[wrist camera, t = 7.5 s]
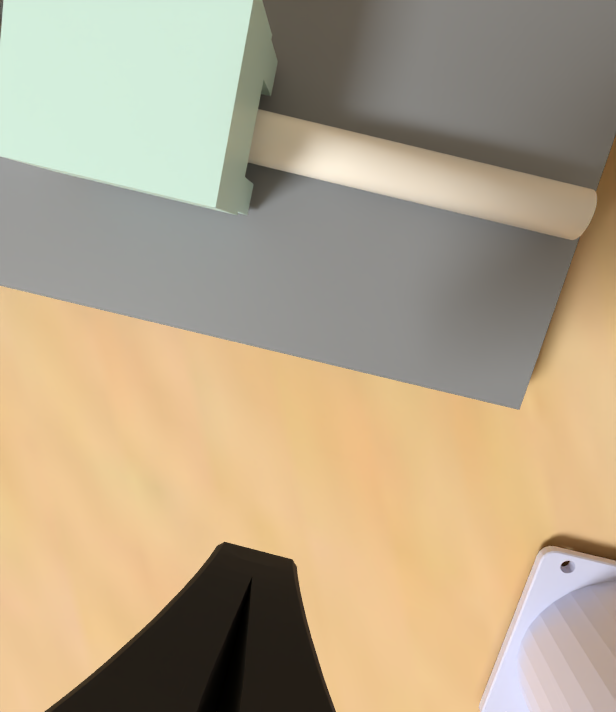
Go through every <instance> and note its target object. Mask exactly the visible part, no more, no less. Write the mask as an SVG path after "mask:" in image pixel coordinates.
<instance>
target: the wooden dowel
mask: <svg viewBox="0 0 616 712" xmlns="http://www.w3.org/2000/svg"><path fill="white" fill-rule="evenodd" d="M248 163H252V164H256V165H260V166H265V167H269V168H273V169H277V170H281V171H285V172H290V173H294V174H298V175H302V176H306V177H310V178H315V179H319V180H323V181H327V182H331V183H335V184H340V185H344V186H348V187H352V188H356V189H360V190H365V191H369V192H373V193H377V194H381V195H385V196H390V197H394V198H398V199H402V200H406V201H410V202H415V203H419V204H423V205H427V206H431V207H435V208H440V209H444V210H448V211H452V212H456V213H460V214H465V215H469V216H473V217H477V218H481V219H485V220H490V221H494V222H498V223H502V224H506V225H510V226H514V227H519V228H523V229H527V230H531V231H535V232H539V233H544V234H548V235H552V236H556V237H560V238H564V239H569V240H575V239H577V238H578V237H580V236H581V235H582V234H583V232H584V231H585V230H586V228H587V227H588V225H589V224H590V222H591V220H592V217H593V215H594V212H595V209H596V204H597V194H596V192H595V190H593V189H589V188H585V187H581V186H577V185H573V184H568V183H564V182H560V181H556V180H552V179H548V178H543V177H539V176H535V175H531V174H527V173H523V172H518V171H514V170H510V169H506V168H502V167H498V166H493V165H489V164H485V163H481V162H477V161H473V160H468V159H464V158H460V157H456V156H452V155H448V154H444V153H439V152H435V151H431V150H427V149H423V148H419V147H414V146H410V145H406V144H402V143H398V142H394V141H389V140H385V139H381V138H377V137H373V136H369V135H364V134H360V133H356V132H352V131H348V130H344V129H339V128H335V127H331V126H327V125H323V124H319V123H315V122H310V121H306V120H302V119H298V118H294V117H290V116H285V115H281V114H277V113H273V112H269V111H265V110H260V109H258V111H257V117H256V122H255V127H254V132H253V137H252V143H251V148H250V153H249V158H248Z"/></svg>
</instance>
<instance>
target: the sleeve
mask: <svg viewBox="0 0 616 712" xmlns="http://www.w3.org/2000/svg"><path fill="white" fill-rule="evenodd" d="M271 39H272V33H271V29H270V26H269V22H268V19H267V15H266V12H265V8H264V5H263V1H262V0H3V12H2V25H1V38H0V156H1V157H4V158H8V159H11V160H15V161H19V162H22V163H26V164H29V165H33V166H37V167H40V168H44V169H47V170H51V171H55V172H59V173H63V174H67V175H71V176H75V177H79V178H84V179H88V180H92V181H96V182H100V183H104V184H109V185H113V186H117V187H121V188H125V189H129V190H134V191H138V192H142V193H146V194H150V195H154V196H159V197H163V198H167V199H171V200H175V201H180V202H184V203H188V204H192V205H196V206H200V207H205V208H209V209H213V210H217V211H221V212H225V213H230V214H234V215H238V213H240V214H244V215H248V210H249V205H250V200H251V195H252V190H253V185H254V184H253V183H252V182H251V181H249V180H248V179H247V178H246V177H245V174H246V168H247V163H248V158H249V153H250V148H251V143H252V137H253V132H254V127H255V122H256V117H257V111H258V106H259V101H260V96H261V94H263V95H267V96H271V94H272V88H273V83H274V78H275V73H276V68H277V63H278V61H277V57H276V54H275V51H274V47H273V44H272V40H271Z"/></svg>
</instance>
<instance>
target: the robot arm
mask: <svg viewBox="0 0 616 712" xmlns="http://www.w3.org/2000/svg"><path fill="white" fill-rule="evenodd" d="M565 561H570V562H569V564H568V565H566V566H561V564H562V563H563V562H565ZM479 709H480V712H616V561H615V560H611V559H606V558H602V557H598V556H594V555H590V554H585V553H581V552H577V551H573V550H569V549H564V548H560V547H556V546H547V547H544V548H543V549H541V550H540V551H539V553H538V554H537V557H536V559H535V562H534V564H533V567H532V570H531V572H530V575H529V577H528V580H527V582H526V585H525V588H524V590H523V593H522V595H521V598H520V601H519V603H518V606H517V608H516V611H515V613H514V616H513V619H512V621H511V624H510V626H509V629H508V631H507V634H506V637H505V639H504V642H503V644H502V647H501V650H500V652H499V655H498V657H497V660H496V662H495V665H494V668H493V670H492V673H491V675H490V678H489V681H488V683H487V686H486V688H485V691H484V693H483V696H482V699H481V701H480V704H479ZM216 711H217V712H336V711H335V708H334V705H333V703H332V700H331V697H330V695H329V692H328V689H327V686H326V683H325V680H324V677H323V674H322V671H321V667H320V664H319V661H318V657H317V654H316V651H315V648H314V644H313V641H312V638H311V634H310V630H309V627H308V623H307V619H306V615H305V611H304V606H303V602H302V597H301V593H300V587H299V582H298V575H297V567H296V565H295V563H294V561H293V560H292V559H288V558H285V557H281V556H277V555H273V554H269V553H265V552H261V551H258V550H254V549H250V548H246V547H242V546H238V545H235V544H231V543H227V542H224V543H222V544H220V545H218V546H217V547H216V548H215V550H214V551H213V553H212V554H211V556H210V557H209V558H208V560H207V561H206V562H205V563H204V565H203V566H202V567H201V568H200V570H199V571H198V572H197V573H196V574H195V575H194V577H193V578H192V579H191V580H190V581H189V582H188V583H187V584H186V586H185V587H184V588H183V589H182V590H181V591H180V592H179V593H178V594H177V595H176V596H175V597H174V598H173V599H172V600H171V601H170V602H169V603H168V604H167V605H166V606H165V607H164V608H163V609H162V611H161V612H160V613H159V614H158V615H157V616H156V617H155V618H154V619H153V620H152V621H151V622H150V623H149V624H147V625H146V626H145V627H144V628H143V629H142V630H141V631H140V632H139V633H138V634H137V635H135V636H134V637H133V638H132V639H131V640H130V641H129V642H128V643H127V644H126V645H124V646H123V647H122V648H121V649H120V650H119V651H118V652H117V653H116V654H115V655H113V656H112V657H111V658H110V659H109V660H108V661H107V662H106V663H104V664H103V665H102V666H101V667H100V668H99V669H97V670H96V671H95V672H94V673H93V674H91V675H90V676H89V677H88V678H87V679H85V680H84V681H83V682H82V683H81V684H79V685H78V686H77V687H76V688H74V689H73V690H72V691H71V692H69V693H68V694H67V695H66V696H64V697H63V698H62V699H60V700H59V701H58V702H57V703H55V704H54V705H53V706H51V707H50V708H49V709H48V710H46V711H45V712H216Z"/></svg>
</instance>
